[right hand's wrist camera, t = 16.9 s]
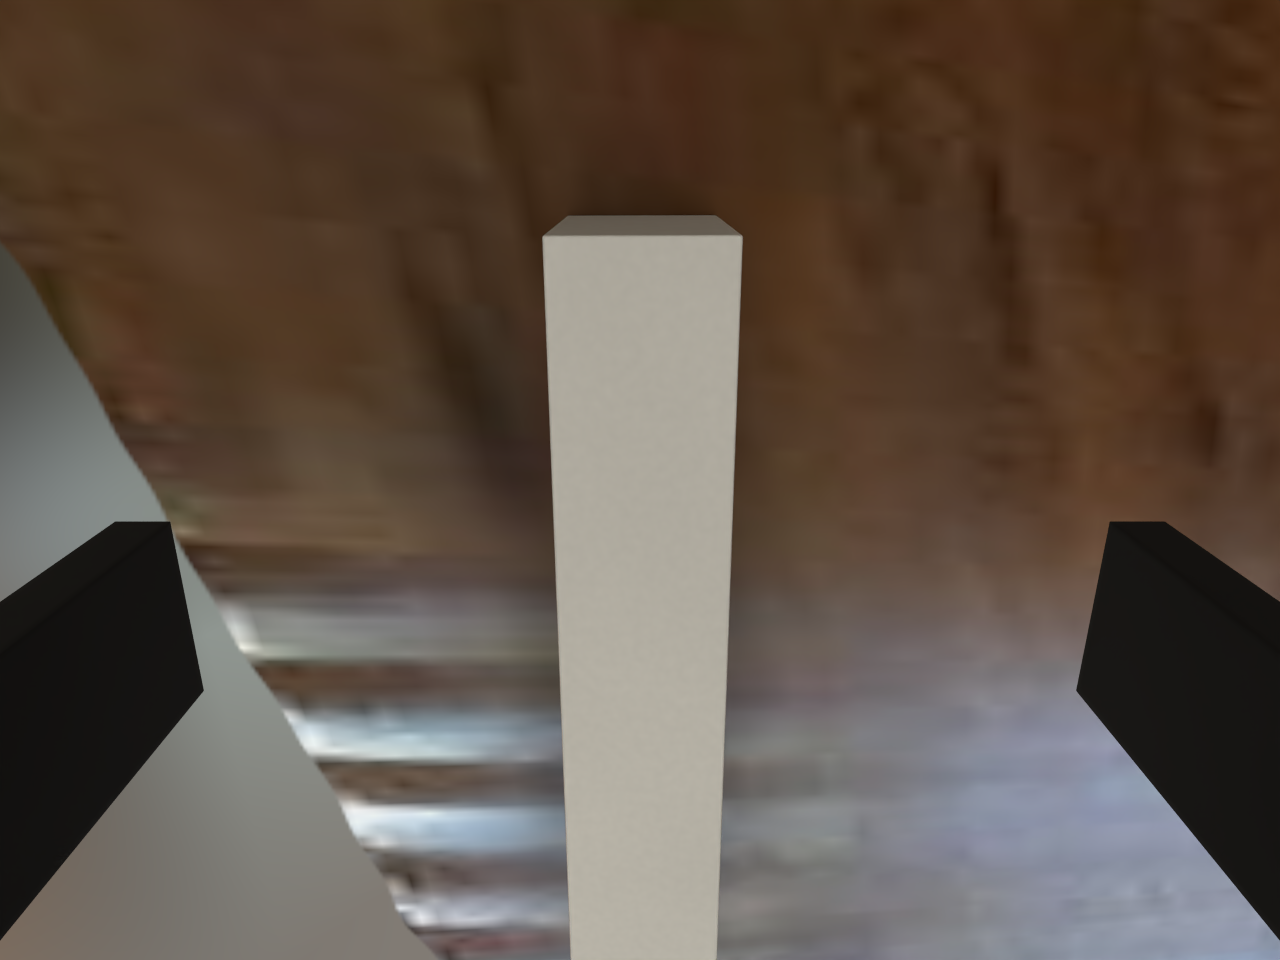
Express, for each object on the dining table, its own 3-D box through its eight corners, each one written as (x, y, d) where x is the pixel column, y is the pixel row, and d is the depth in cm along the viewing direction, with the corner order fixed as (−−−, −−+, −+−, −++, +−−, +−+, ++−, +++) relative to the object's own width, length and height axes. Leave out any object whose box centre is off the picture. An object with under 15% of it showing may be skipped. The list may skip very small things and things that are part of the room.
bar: (567, 215, 33) (541, 235, 25) (716, 215, 33) (743, 234, 25) (586, 887, 44) (574, 1058, 36) (699, 887, 44) (713, 1058, 36)
